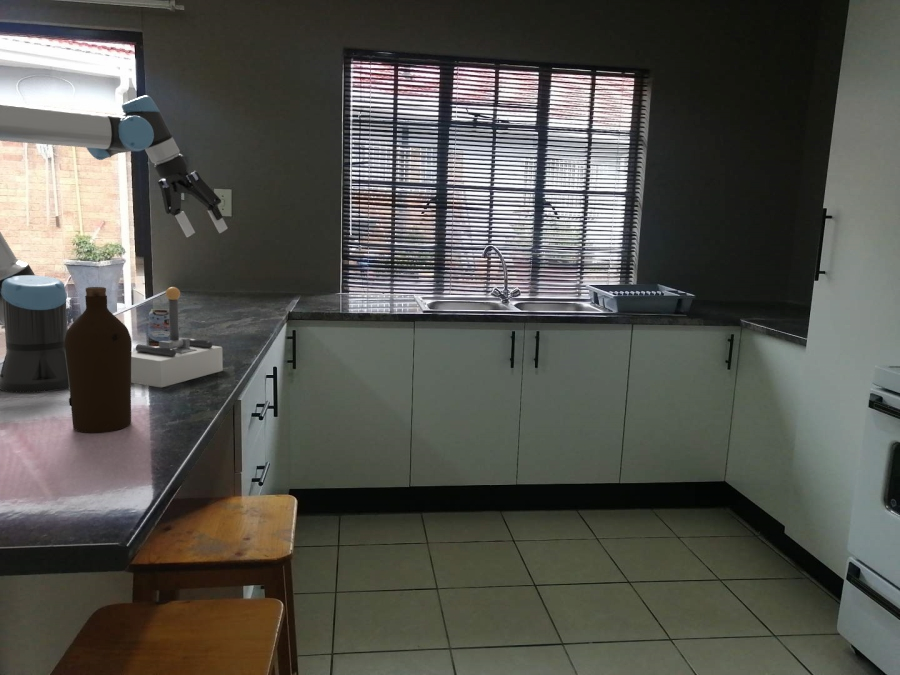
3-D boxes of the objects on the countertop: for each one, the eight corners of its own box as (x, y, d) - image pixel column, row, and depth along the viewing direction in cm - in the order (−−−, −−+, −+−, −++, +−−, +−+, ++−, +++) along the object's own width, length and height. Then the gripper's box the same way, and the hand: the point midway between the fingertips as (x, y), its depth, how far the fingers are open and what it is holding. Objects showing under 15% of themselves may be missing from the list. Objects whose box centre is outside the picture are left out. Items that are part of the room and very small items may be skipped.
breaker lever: (174, 349, 160) (172, 288, 157) (163, 348, 161) (161, 287, 158) (185, 347, 163) (183, 286, 160) (175, 346, 164) (173, 285, 162)
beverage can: (146, 353, 185) (145, 310, 183) (151, 348, 192) (149, 306, 190) (171, 353, 187) (170, 310, 185) (174, 348, 194) (173, 306, 192)
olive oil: (145, 418, 128) (139, 286, 124) (117, 435, 117) (110, 292, 113) (89, 415, 128) (81, 283, 124) (56, 433, 117) (47, 289, 113)
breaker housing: (161, 387, 150) (159, 350, 149) (117, 380, 155) (115, 344, 154) (222, 370, 169) (222, 337, 167) (181, 364, 173) (181, 332, 172)
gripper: (208, 145, 169) (247, 222, 179) (148, 159, 183) (187, 230, 193) (187, 157, 164) (228, 235, 174) (127, 170, 178) (168, 242, 188)
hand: (207, 233), depth 184 cm, fingers open, 13 cm apart
